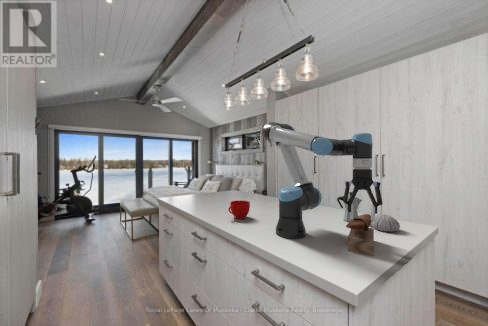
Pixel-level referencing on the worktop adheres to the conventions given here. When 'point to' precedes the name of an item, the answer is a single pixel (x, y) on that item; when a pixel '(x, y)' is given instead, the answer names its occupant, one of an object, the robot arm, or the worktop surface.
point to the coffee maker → (347, 214)
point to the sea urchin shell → (385, 223)
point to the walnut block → (361, 241)
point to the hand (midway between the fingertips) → (362, 220)
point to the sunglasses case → (360, 223)
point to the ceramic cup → (239, 208)
